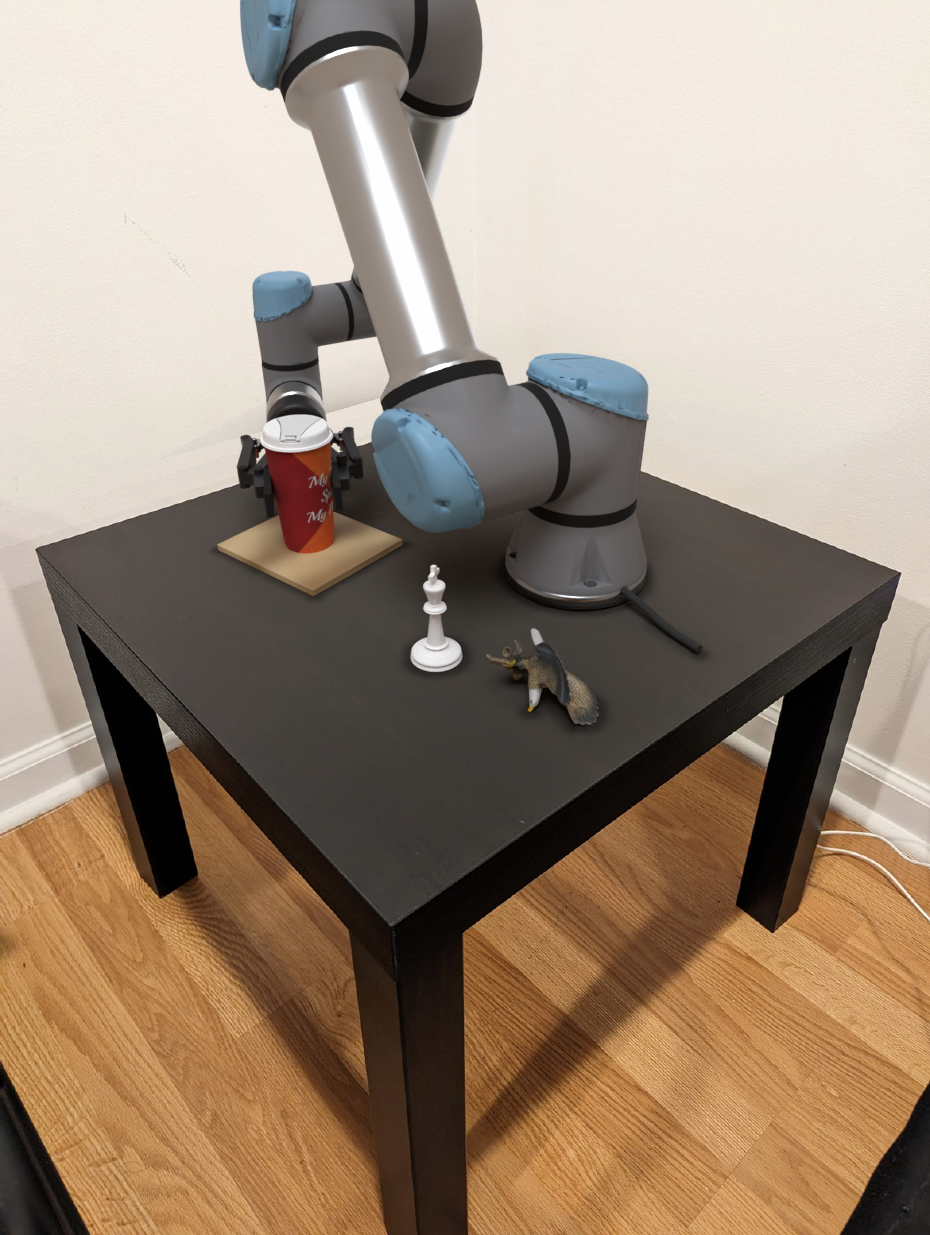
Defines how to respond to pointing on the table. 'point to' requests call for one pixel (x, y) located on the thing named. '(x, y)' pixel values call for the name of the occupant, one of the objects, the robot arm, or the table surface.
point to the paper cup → (301, 480)
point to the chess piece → (435, 632)
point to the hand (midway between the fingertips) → (304, 502)
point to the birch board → (311, 570)
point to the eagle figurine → (550, 679)
